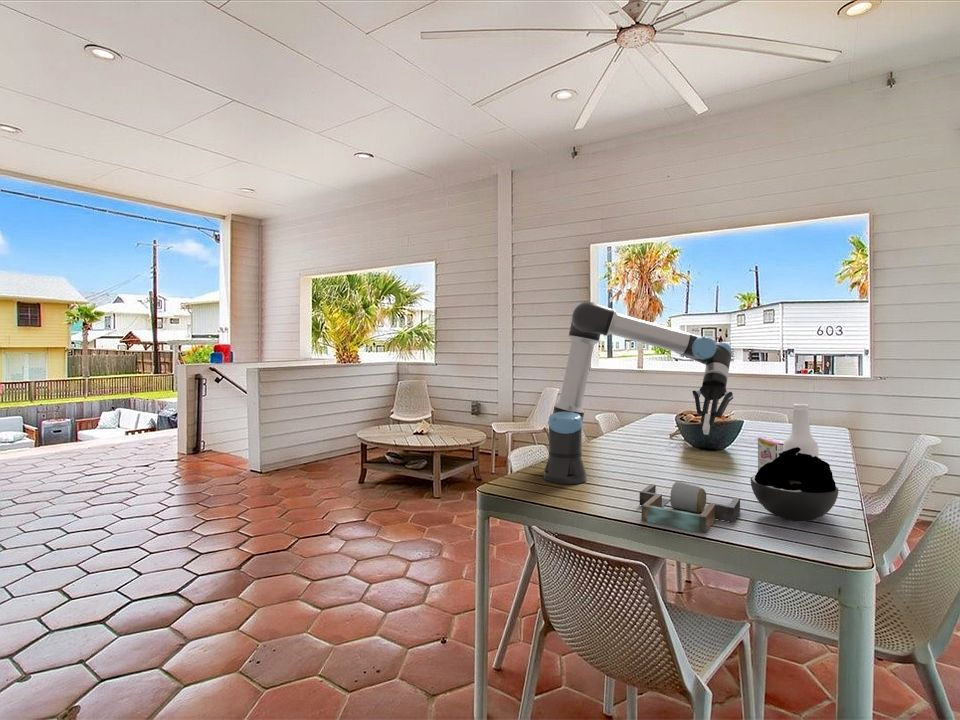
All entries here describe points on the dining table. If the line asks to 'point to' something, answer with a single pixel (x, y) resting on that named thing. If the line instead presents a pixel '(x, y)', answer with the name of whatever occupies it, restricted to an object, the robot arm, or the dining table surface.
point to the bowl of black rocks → (795, 486)
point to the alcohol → (801, 432)
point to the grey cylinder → (688, 497)
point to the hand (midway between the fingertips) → (705, 432)
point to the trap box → (681, 519)
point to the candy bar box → (768, 450)
